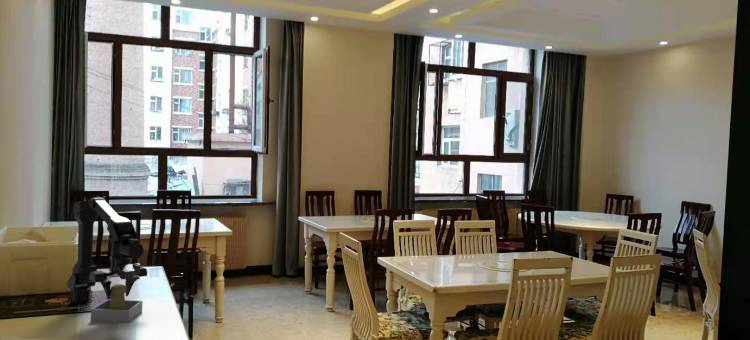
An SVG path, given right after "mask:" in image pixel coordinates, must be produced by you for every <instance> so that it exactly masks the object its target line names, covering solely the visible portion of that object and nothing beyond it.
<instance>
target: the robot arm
mask: <svg viewBox="0 0 750 340" xmlns="http://www.w3.org/2000/svg"><path fill="white" fill-rule="evenodd" d="M72 212H73V218H74V220H75V221H76V223H77V224H78V229H77V230H78V233H77V235H78V236H77V242H78V243H77V261H76V263H75V265H74V266H73V267H72V271H71V275H70V277H69V278H68V279H67V281H66V287H67V288H68V289H70V301H69V302H68V305H84V306H85V305H87V304H88V303H89V304H90V303H91V302H93V290H92V287H95V286H96V283H100V285H101V286H102V288H103V291H104V292H105V295H106V298H107V299H108V300H111V296H112V294H111V291H110V289H111V284H112V281H111V278H119V279H121V280H125V283H124V285H125V286H126V292H125V293H124V294H125V297H129V295H130V292H131V290H132V288H133V286H134V284H135V282H137V280H140V279H141V278H142V277H147V276H148V269H147V268H146V267H143V266H141V264H140V263H138V262H137V263H132V264H131V259H132V260H138V259H139V258H141V257H142V256H143V254H144V252H145V251H144V250H145V249H144V246H143V245H142V244H141V243H140V239H138V233H137V231H136V229H135V227H134V225H133V223H132V222H133V221H131V220H129V218H127V217H124V216H121V215H119V214H118V212H116V211H115V210H114V209H113V208H112V206H111V205H109V204H108V202H107V200H106V199H105V198H103V197H92V198H89V199H87V200H82V201H76V203H75V204H74V205H73V207H72ZM98 217H100V218H101V219H102V220H103V221H104V223H105V224H106V225H107V229H106V230H107V232H108V233H109V235H110V236H111V237H110V238H109V239H108V241H109V242H111V251H110V252H111V253H110V254H111V255H110V257H109V261H110V268H108V271H109V272H106V271H102V270H98V266H97V265H95V264H94V262H93V259H92V258H93V230H94V229H93V227H94V223H95V222H96V220H97V218H98Z"/></svg>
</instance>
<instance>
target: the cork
mask: <svg viewBox="0 0 750 340" xmlns="http://www.w3.org/2000/svg"><path fill="white" fill-rule="evenodd" d="M125 292H126V286H125V284H121V283H120V284H119V283H118V284H113V285H112V286H110V294H111V296H110V300H111V302H110V307H109V309H112V310H126V307H125V300H126V298H125V297H126V295H125V294H126V293H125Z"/></svg>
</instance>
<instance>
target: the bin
mask: <svg viewBox="0 0 750 340" xmlns="http://www.w3.org/2000/svg"><path fill="white" fill-rule="evenodd" d="M110 302H111V299H108V298H107V299H105V300H104V301H103V302H101V303H98V304H97V305H96V306H94V307H92V308H91V309H90V322H99V323H126V324H128V323H131V321H132V320H134V319H135V318H137V317H138V316H139V315H141V314H142V313H143V300H131V299H130V300H128V299H127V300H126V299H125V307H126V310H112V309H109V307H110Z"/></svg>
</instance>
